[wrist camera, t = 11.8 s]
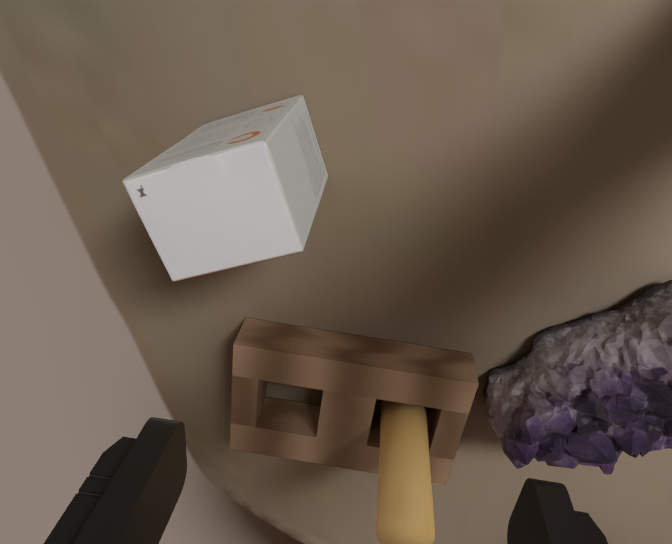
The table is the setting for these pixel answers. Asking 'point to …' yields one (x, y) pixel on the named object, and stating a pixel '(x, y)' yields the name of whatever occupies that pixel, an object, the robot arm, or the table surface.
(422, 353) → the hole block
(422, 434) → the peg
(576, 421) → the geode
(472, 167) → the table surface
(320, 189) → the small box
